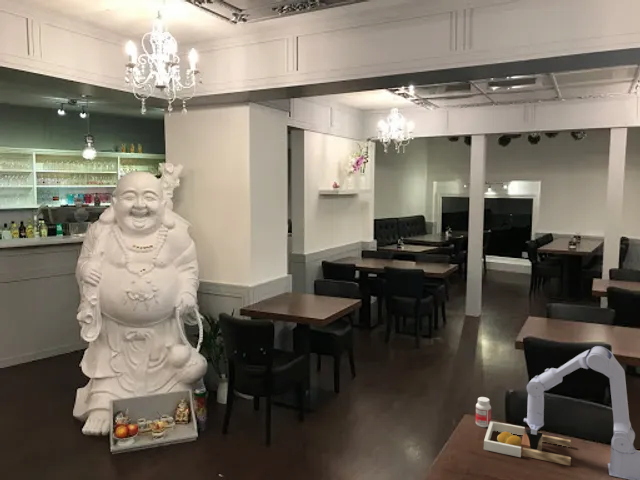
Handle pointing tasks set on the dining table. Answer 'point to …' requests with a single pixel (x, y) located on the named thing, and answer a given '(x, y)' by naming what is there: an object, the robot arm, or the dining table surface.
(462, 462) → the dining table surface
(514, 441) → the bread roll
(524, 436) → the two-tone t block
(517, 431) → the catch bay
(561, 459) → the slot rails
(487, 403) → the pill bottle
